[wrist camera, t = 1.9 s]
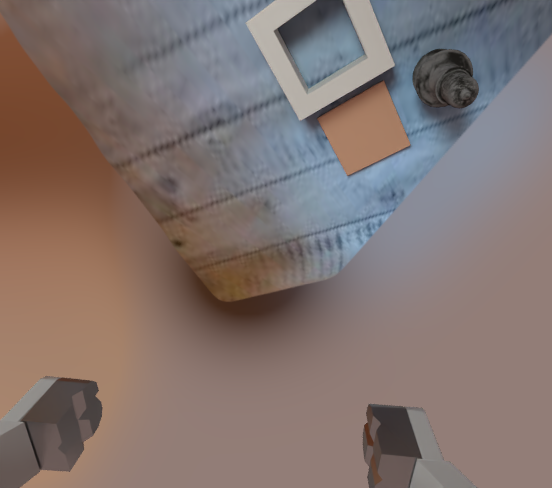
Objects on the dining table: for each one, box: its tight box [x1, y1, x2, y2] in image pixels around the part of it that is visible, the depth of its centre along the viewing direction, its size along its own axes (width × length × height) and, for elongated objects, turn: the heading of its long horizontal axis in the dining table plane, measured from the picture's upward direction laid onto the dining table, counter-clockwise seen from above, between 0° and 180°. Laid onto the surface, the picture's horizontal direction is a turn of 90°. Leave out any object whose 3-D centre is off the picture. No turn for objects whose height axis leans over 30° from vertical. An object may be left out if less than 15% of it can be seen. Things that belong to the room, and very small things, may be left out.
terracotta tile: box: [317, 80, 410, 176], centre depth 46 cm, size 9×9×1 cm
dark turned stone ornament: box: [413, 49, 479, 108], centre depth 37 cm, size 6×6×12 cm
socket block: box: [246, 0, 395, 121], centre depth 40 cm, size 12×12×4 cm
